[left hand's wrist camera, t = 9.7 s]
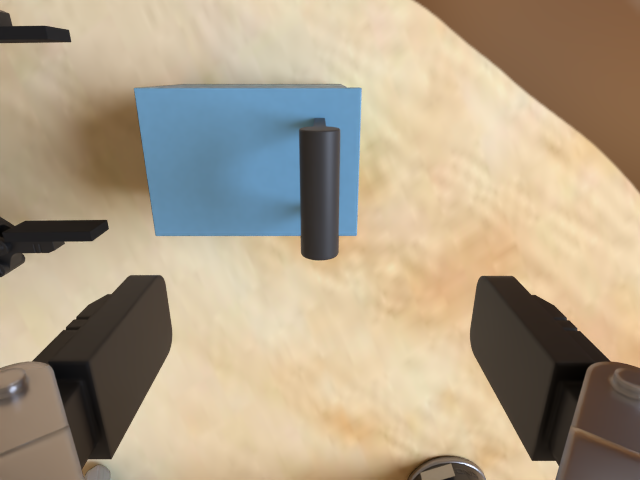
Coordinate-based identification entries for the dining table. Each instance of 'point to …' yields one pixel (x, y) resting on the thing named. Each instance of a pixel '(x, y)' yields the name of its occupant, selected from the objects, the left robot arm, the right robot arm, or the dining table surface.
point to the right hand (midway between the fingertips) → (81, 140)
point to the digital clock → (98, 473)
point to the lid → (253, 162)
